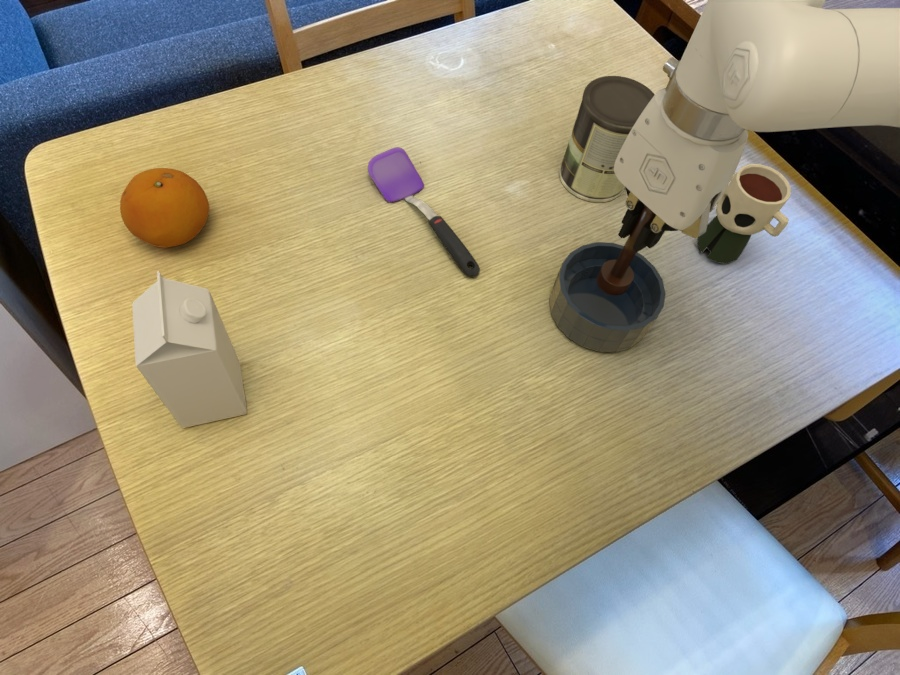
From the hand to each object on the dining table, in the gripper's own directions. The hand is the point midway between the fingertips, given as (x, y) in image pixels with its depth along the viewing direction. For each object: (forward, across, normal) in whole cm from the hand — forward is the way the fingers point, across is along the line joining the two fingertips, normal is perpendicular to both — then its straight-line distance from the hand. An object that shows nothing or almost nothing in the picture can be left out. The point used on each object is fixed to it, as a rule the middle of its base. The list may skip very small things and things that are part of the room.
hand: (636, 238), depth 70 cm
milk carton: (+15, -17, -46) cm, 51 cm away
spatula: (+15, -25, -10) cm, 31 cm away
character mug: (+15, +2, +22) cm, 27 cm away
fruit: (+15, -42, -39) cm, 59 cm away
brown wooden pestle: (+9, 0, 0) cm, 9 cm away
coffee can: (+15, -18, +16) cm, 28 cm away
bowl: (+15, 0, 0) cm, 15 cm away
